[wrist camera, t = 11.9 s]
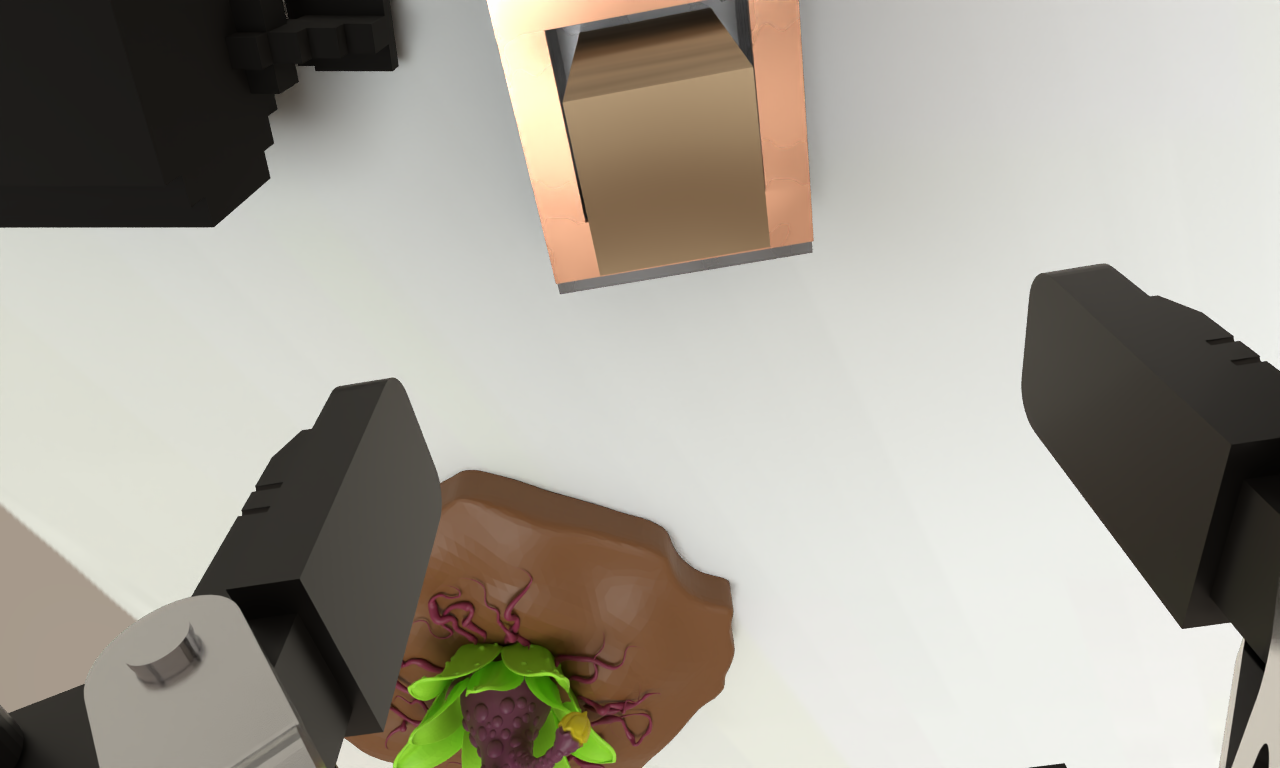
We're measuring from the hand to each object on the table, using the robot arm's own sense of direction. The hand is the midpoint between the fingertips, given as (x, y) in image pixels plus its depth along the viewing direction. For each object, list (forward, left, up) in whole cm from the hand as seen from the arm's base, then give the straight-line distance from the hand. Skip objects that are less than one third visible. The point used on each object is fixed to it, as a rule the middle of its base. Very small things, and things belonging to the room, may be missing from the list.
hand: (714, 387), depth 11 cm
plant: (+25, -11, -19) cm, 33 cm away
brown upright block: (0, 0, -18) cm, 18 cm away
